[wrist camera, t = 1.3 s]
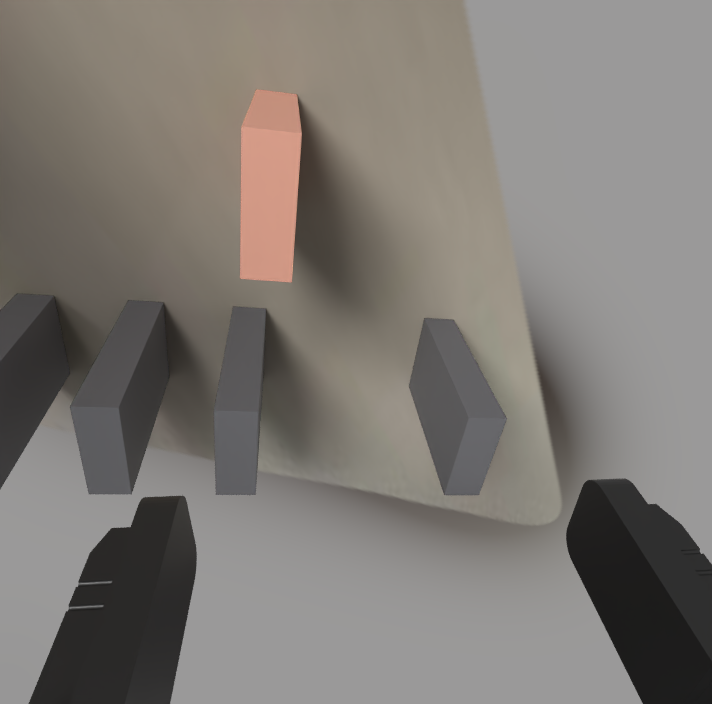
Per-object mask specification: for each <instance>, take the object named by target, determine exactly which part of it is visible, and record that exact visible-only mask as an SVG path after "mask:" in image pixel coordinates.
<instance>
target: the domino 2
mask: <svg viewBox="0 0 712 704" xmlns="http://www.w3.org/2000/svg"><path fill="white" fill-rule="evenodd" d="M168 380H169V366H168V353H167V341H166V329H165V316H164V304H163V302H149V301H132V300H128V302H127V304H126V306H125V307H124V309H123V311H122V313H121V315H120V316H119V318H118V320H117V322H116V324H115V326H114V327H113V329H112V331H111V333H110V335H109V336H108V338H107V340H106V342H105V344H104V346H103V347H102V349H101V351H100V353H99V355H98V356H97V358H96V360H95V362H94V364H93V365H92V367H91V369H90V371H89V373H88V375H87V376H86V378H85V380H84V382H83V384H82V385H81V387H80V389H79V391H78V393H77V395H76V396H75V398H74V400H73V402H72V404H71V405H70V409H71V414H72V418H73V423H74V428H75V432H76V437H77V442H78V446H79V451H80V456H81V460H82V464H83V469H84V474H85V479H86V483H87V488H88V492H89V494H132V491H133V488H134V485H135V482H136V479H137V476H138V473H139V469H140V466H141V463H142V460H143V457H144V454H145V451H146V448H147V445H148V442H149V439H150V435H151V432H152V429H153V426H154V423H155V420H156V417H157V414H158V411H159V408H160V404H161V401H162V398H163V395H164V392H165V389H166V386H167V383H168Z"/></svg>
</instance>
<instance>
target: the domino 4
mask: <svg viewBox="0 0 712 704" xmlns="http://www.w3.org/2000/svg"><path fill="white" fill-rule="evenodd" d="M301 138H302V131H301V123H300V115H299V107H298V98H297V95H296V94H288V93H281V92H273V91H265V90H257V89H256V92H255V94H254V97H253V99H252V102H251V104H250V107H249V109H248V112H247V114H246V117H245V119H244V122H243V124H242V136H241V248H240V279H251V280H266V281H281V282H292V271H293V256H294V242H295V227H296V212H297V197H298V182H299V167H300V152H301Z"/></svg>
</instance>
